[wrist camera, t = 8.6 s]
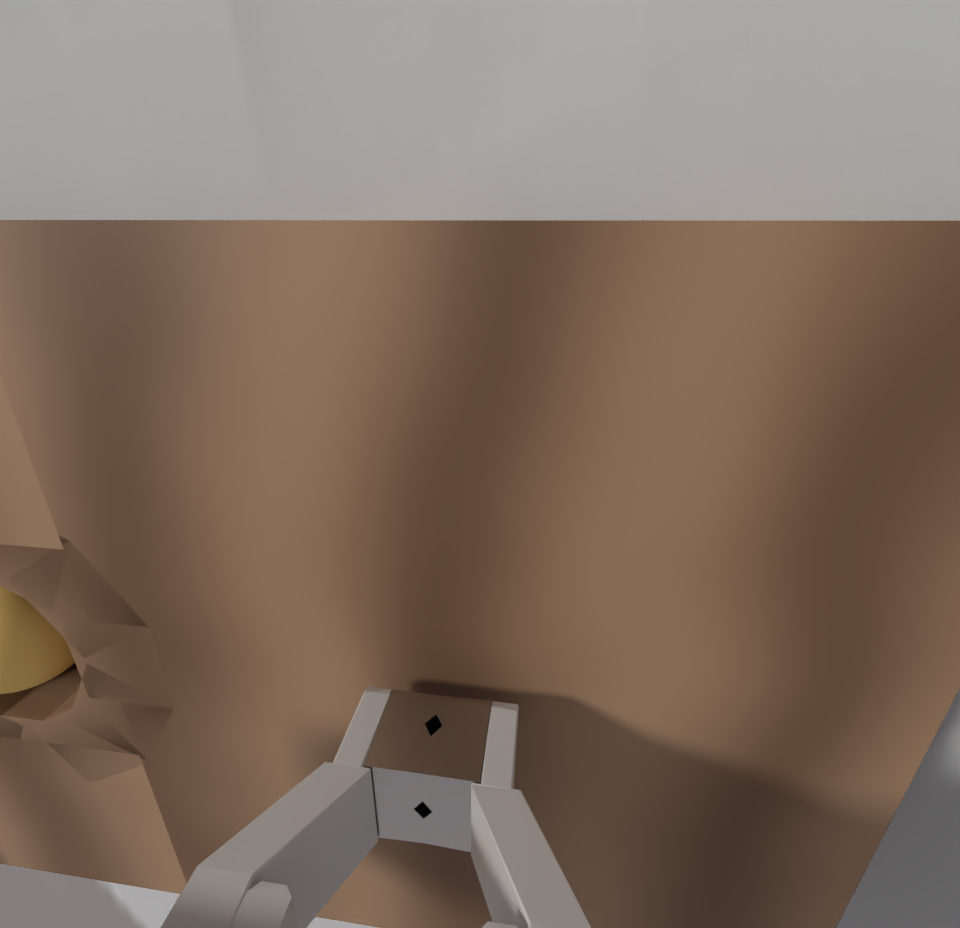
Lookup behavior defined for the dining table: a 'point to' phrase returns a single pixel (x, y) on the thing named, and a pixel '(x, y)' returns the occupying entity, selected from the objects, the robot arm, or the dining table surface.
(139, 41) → the dining table surface
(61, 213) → the dining table surface
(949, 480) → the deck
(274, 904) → the robot arm
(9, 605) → the ball
